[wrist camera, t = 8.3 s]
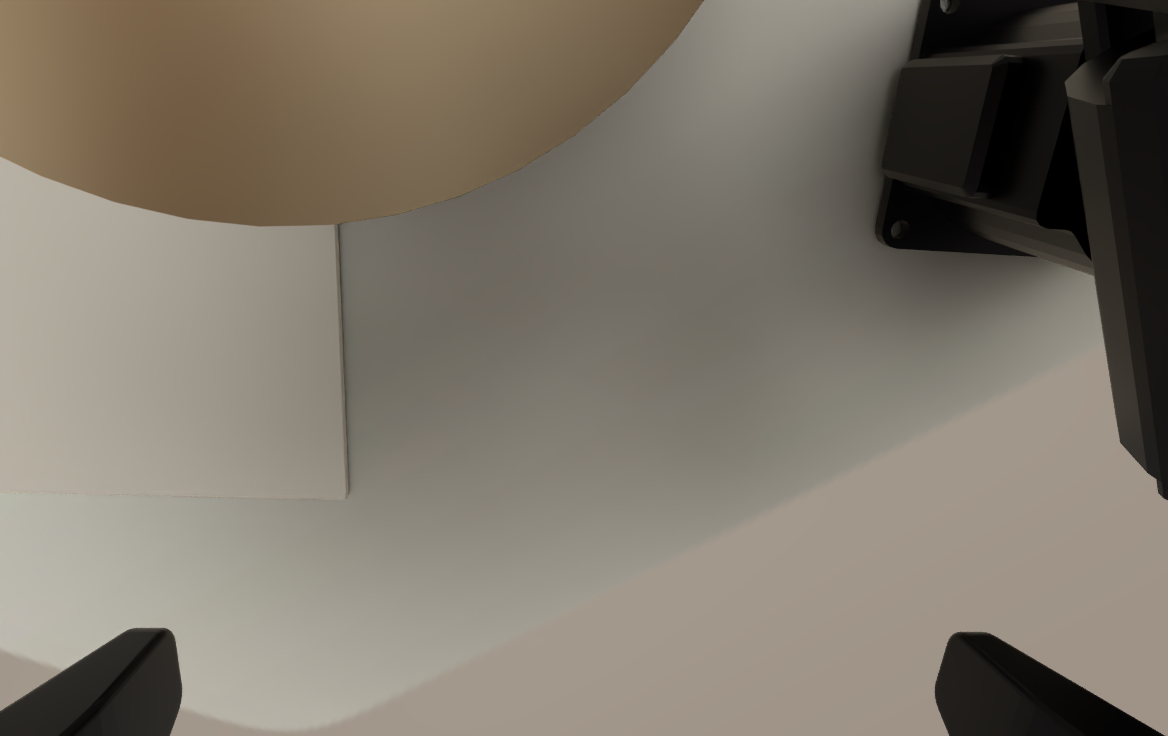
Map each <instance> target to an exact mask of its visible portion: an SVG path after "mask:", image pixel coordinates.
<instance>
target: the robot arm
mask: <svg viewBox="0 0 1168 736" xmlns="http://www.w3.org/2000/svg"><path fill="white" fill-rule="evenodd" d="M882 169H883V171H884V172H885V174H886V179H885V184H884V189H883V194H882V198H881V203H880V208H879V213H878V218H877V222H876V235H877V238H878V240H879V241H881V242H882V243H883V244H885V245H887V246H889V247H893V248H896V249H913V250H930V251H947V252H964V253H981V254H997V255H1014V256H1031V257H1040V258H1043V259H1046V260H1049V261H1052V262H1055V263H1058V264H1061V265H1064V266H1067V267H1070V268H1073V269H1076V270H1079V271H1082V272H1085V273H1088V274H1091V275H1094V278H1095V284H1096V291H1097V297H1098V304H1099V310H1100V317H1101V323H1102V330H1103V336H1104V343H1105V350H1106V356H1107V363H1108V369H1109V375H1110V382H1111V389H1112V395H1113V402H1114V408H1115V415H1116V420H1117V426H1118V432H1119V437H1120V443H1121V444H1122V445H1123V446H1124V447H1125V448H1126V449H1127V450H1128V452H1129V453H1130V454H1131V455H1132V456H1133V457H1134V458H1135V460H1136V461H1137V462H1138V463H1139V464H1140V465H1141V466H1142V467H1143V468H1144V470H1145V471H1146V472H1147V473H1148V474H1150V475H1151V476H1153V477H1154V478H1156V479H1157V487H1158V493H1159V494H1160V495H1161V496H1162V497H1163V498H1164V499H1166V500H1168V0H952V5H951V7H950V9H949V11H948V12H946V13H945V12H943V11H942V9H941V7H940V0H923V2H922V6H921V11H920V16H919V21H918V26H917V30H916V35H915V40H914V45H913V50H912V54H911V59H910V62H909V63H908V64H907V65H906V66H904V67H903V68H902V70H901V74H900V79H899V84H898V89H897V93H896V98H895V103H894V108H893V113H892V118H891V123H890V127H889V132H888V137H887V142H886V147H885V152H884V157H883V162H882ZM897 221H901V222H902V230H901V232H900V233H899V234H898V235H896V236H892V235H891V228H892V226H893V224H895V223H896V222H897ZM181 698H182V683H181V676H180V669H179V662H178V655H177V648H176V641H175V637H174V635H173V633H172V632H171V631H170V630H168V629H166V628H133V629H129V630H127V631H125V632H123V633H122V634H120V635H119V636H117V637H115V638H114V639H112V640H111V641H109V642H108V643H106V644H105V645H103V646H101V647H100V648H98V649H97V650H95V651H94V652H92V653H90V654H89V655H87V656H86V657H84V658H83V659H81V660H80V661H78V662H76V663H75V664H73V665H72V666H70V667H69V668H67V669H65V670H64V671H62V672H61V673H59V674H58V675H56V676H54V677H53V678H51V679H50V680H48V681H47V682H45V683H44V684H42V685H40V686H39V687H37V688H36V689H34V690H33V691H31V692H29V693H28V694H26V695H25V696H23V697H22V698H20V699H19V700H17V701H15V702H14V703H13V704H11V705H9V706H8V707H6V708H4V709H3V710H1V711H0V736H170V734H171V731H172V728H173V725H174V723H175V720H176V717H177V714H178V711H179V708H180V704H181ZM935 699H936V703H937V706H938V709H939V712H940V714H941V717H942V719H943V722H944V724H945V726H946V729H947V731H948V734H949V736H1164V735H1163V734H1161V733H1159V732H1158V731H1156V730H1154V729H1152V728H1151V727H1149V726H1147V725H1146V724H1144V723H1142V722H1141V721H1138V720H1137V719H1135V718H1134V717H1132V716H1130V715H1129V714H1127V713H1125V712H1123V711H1122V710H1120V709H1118V708H1117V707H1115V706H1113V705H1112V704H1109V703H1108V702H1106V701H1105V700H1103V699H1101V698H1100V697H1098V696H1096V695H1094V694H1093V693H1091V692H1089V691H1088V690H1086V689H1084V688H1083V687H1081V686H1079V685H1077V684H1076V683H1074V682H1072V681H1071V680H1069V679H1067V678H1065V677H1064V676H1062V675H1060V674H1059V673H1057V672H1055V671H1053V670H1052V669H1050V668H1048V667H1047V666H1045V665H1043V664H1042V663H1040V662H1038V661H1036V660H1035V659H1033V658H1031V657H1030V656H1028V655H1026V654H1025V653H1023V652H1021V651H1019V650H1018V649H1016V648H1014V647H1013V646H1011V645H1009V644H1007V643H1006V642H1004V641H1002V640H1001V639H999V638H997V637H996V636H994V635H991V634H990V633H986V632H957V633H955V634H953V635H952V636H951V637H950V639H949V641H948V643H947V646H946V650H945V653H944V656H943V660H942V663H941V666H940V670H939V673H938V677H937V681H936V684H935Z"/></svg>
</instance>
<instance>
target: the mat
mask: <svg viewBox="0 0 1168 736" xmlns="http://www.w3.org/2000/svg"><path fill="white" fill-rule="evenodd" d="M0 493H44V494H89V495H134V496H179V497H224V498H269V499H314V500H346V499H347V496H348V494H349V485H348V460H347V436H346V411H345V386H344V362H343V337H342V312H341V288H340V263H339V238H338V224H333V225H311V226H263V227H259V226H250V225H240V224H230V223H221V222H211V221H202V220H192V219H186V218H181V217H177V216H173V215H168V214H164V213H159V212H155V211H151V210H146V209H142V208H138V207H133V206H129V205H125V204H120V203H116V202H113V201H110V200H107V199H104V198H101V197H98V196H96V195H93V194H90V193H87V192H84V191H82V190H79V189H76V188H73V187H70V186H67V185H65V184H62V183H59V182H56V181H53V180H50V179H48V178H45V177H42V176H39V175H37V174H35V173H33V172H31V171H29V170H27V169H25V168H23V167H21V166H19V165H17V164H15V163H13V162H11V161H8V160H6V159H4V158H2V157H0Z"/></svg>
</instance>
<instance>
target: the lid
mask: <svg viewBox="0 0 1168 736" xmlns="http://www.w3.org/2000/svg"><path fill="white" fill-rule="evenodd" d="M703 1H704V0H0V157H2V158H4V159H6V160H8V161H11V162H13V163H15V164H17V165H19V166H21V167H23V168H25V169H27V170H29V171H31V172H33V173H35V174H37V175H39V176H42V177H45V178H48V179H50V180H53V181H56V182H59V183H62V184H65V185H67V186H70V187H73V188H76V189H79V190H82V191H84V192H87V193H90V194H93V195H96V196H98V197H101V198H104V199H107V200H110V201H113V202H116V203H120V204H125V205H129V206H133V207H138V208H142V209H146V210H151V211H155V212H159V213H164V214H168V215H173V216H177V217H181V218H186V219H192V220H202V221H211V222H221V223H230V224H240V225H250V226H259V227H263V226H311V225H333V224H340V223H346V222H353V221H359V220H366V219H372V218H379V217H386V216H392V215H397V214H401V213H404V212H407V211H411V210H414V209H418V208H421V207H425V206H428V205H431V204H435V203H438V202H442V201H445V200H449V199H452V198H455V197H459V196H461V195H463V194H466V193H468V192H470V191H472V190H475V189H477V188H479V187H481V186H484V185H486V184H488V183H490V182H492V181H495V180H497V179H499V178H501V177H504V176H506V175H508V174H510V173H513V172H515V171H517V170H519V169H521V168H522V167H524V166H526V165H527V164H529V163H531V162H532V161H534V160H535V159H537V158H539V157H540V156H542V155H543V154H545V153H547V152H548V151H550V150H552V149H553V148H555V147H556V146H558V145H560V144H561V143H563V142H564V141H566V140H568V139H569V138H571V137H572V136H574V135H576V134H577V133H578V132H579V131H580V130H582V129H583V128H584V127H585V126H586V125H588V124H589V123H590V122H591V121H593V120H594V119H595V118H596V117H597V116H599V115H600V114H601V113H602V112H603V111H605V110H606V109H607V108H608V107H610V106H611V105H612V104H613V103H614V102H616V101H617V100H618V99H619V98H620V97H622V96H623V95H624V94H625V93H627V92H628V90H629V89H630V88H631V87H632V86H633V85H634V84H635V83H636V82H637V81H638V80H639V79H640V78H641V77H642V75H643V74H644V73H645V72H646V71H647V70H648V69H649V68H650V67H651V66H652V65H653V64H654V63H655V62H656V60H657V59H658V58H659V57H660V56H661V55H662V54H663V53H664V52H665V51H666V50H667V49H668V48H669V47H670V45H671V44H672V43H673V42H674V41H675V40H676V38H677V37H678V35H679V34H680V33H681V31H682V30H683V29H684V27H685V26H686V24H687V23H688V22H689V20H690V19H691V17H692V16H693V15H694V13H695V12H696V10H697V9H698V8H699V6H700V5H701V4H702V2H703Z"/></svg>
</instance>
